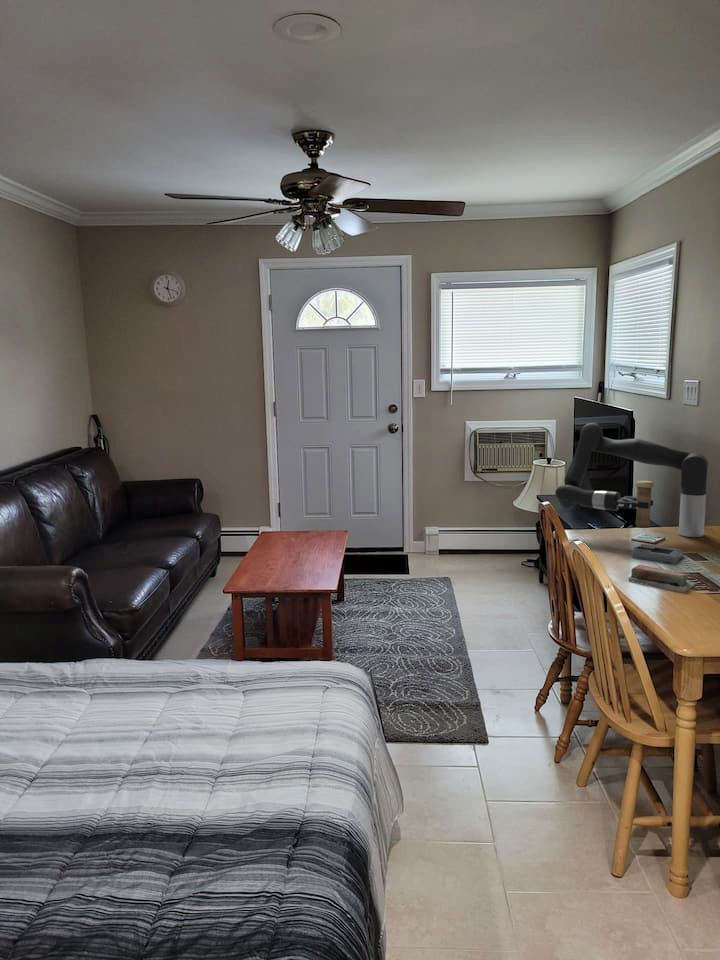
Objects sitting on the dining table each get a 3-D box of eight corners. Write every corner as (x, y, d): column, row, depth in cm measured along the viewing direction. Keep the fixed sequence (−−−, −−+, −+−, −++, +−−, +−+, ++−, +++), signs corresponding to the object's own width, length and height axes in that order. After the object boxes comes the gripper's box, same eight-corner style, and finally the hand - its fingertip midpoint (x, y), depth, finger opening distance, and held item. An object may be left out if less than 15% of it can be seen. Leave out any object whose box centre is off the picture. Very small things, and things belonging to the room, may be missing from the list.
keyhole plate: (674, 563, 241) (674, 556, 241) (630, 557, 251) (630, 550, 250) (682, 556, 250) (682, 549, 250) (639, 550, 260) (639, 543, 259)
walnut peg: (636, 523, 269) (638, 480, 266) (653, 525, 265) (655, 481, 262) (631, 527, 264) (633, 482, 261) (649, 529, 260) (651, 484, 257)
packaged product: (627, 568, 224) (640, 561, 231) (627, 582, 224) (639, 575, 231) (685, 579, 211) (696, 571, 218) (684, 594, 212) (695, 586, 219)
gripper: (600, 494, 266) (645, 498, 255) (612, 488, 277) (656, 491, 267) (599, 512, 267) (645, 517, 257) (611, 506, 278) (655, 510, 268)
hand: (650, 504), depth 262 cm, fingers closed on walnut peg, 5 cm apart
